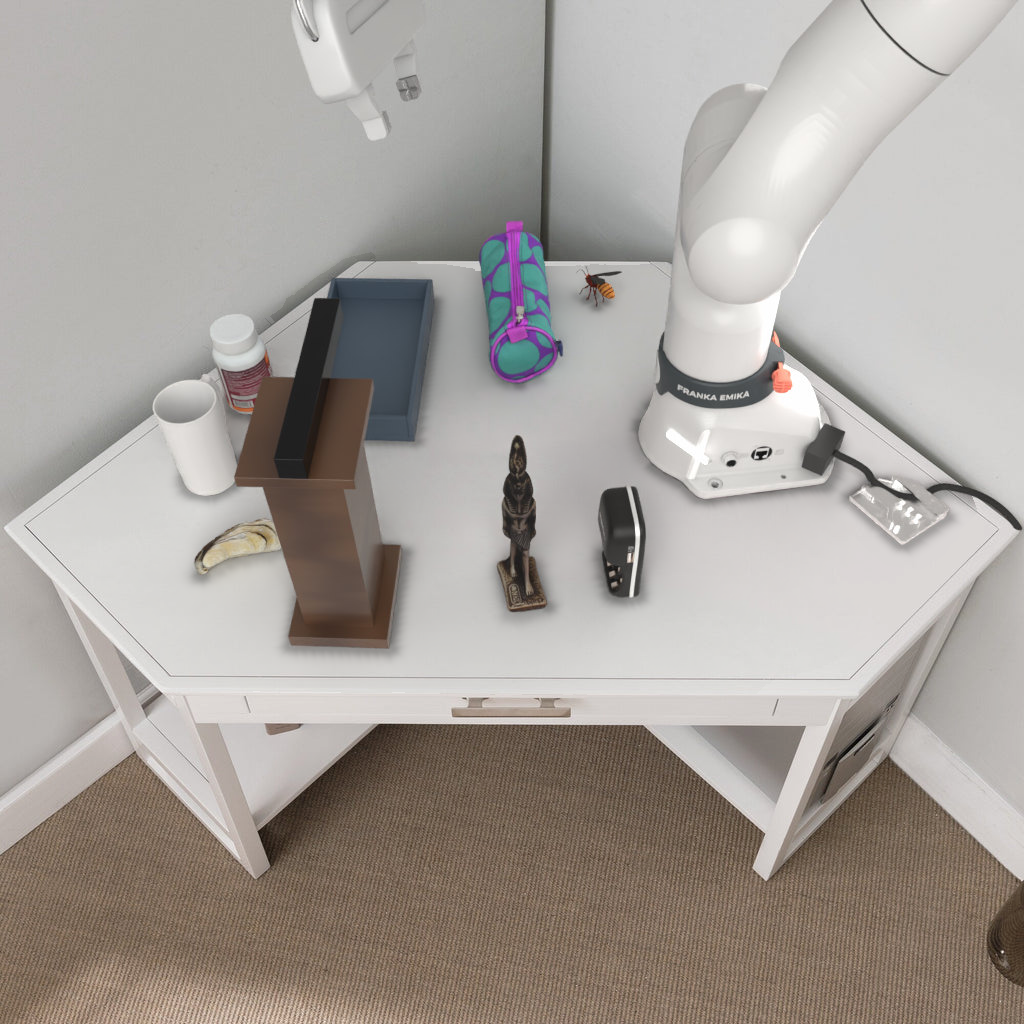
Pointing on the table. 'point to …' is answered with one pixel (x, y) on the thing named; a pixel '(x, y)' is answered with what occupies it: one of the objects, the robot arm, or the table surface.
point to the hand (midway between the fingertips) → (398, 116)
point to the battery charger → (622, 539)
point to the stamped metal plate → (900, 508)
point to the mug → (197, 434)
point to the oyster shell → (238, 543)
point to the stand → (326, 518)
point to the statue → (520, 536)
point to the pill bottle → (239, 360)
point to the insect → (600, 285)
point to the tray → (385, 347)
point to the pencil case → (517, 305)
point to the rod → (309, 390)
